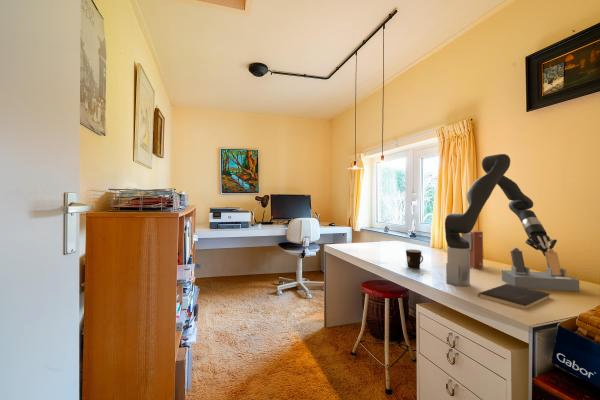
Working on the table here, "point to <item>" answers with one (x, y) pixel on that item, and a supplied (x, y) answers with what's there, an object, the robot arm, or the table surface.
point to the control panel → (475, 247)
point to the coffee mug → (414, 258)
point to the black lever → (518, 260)
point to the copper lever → (553, 261)
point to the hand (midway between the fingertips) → (549, 256)
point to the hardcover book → (514, 296)
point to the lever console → (540, 280)
